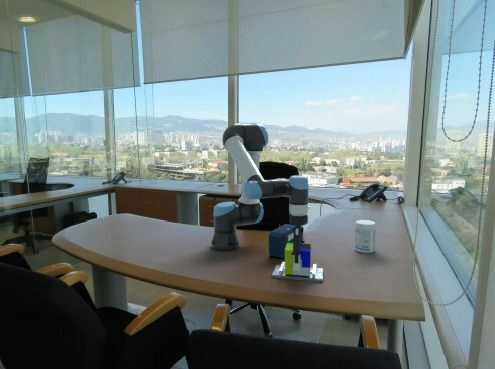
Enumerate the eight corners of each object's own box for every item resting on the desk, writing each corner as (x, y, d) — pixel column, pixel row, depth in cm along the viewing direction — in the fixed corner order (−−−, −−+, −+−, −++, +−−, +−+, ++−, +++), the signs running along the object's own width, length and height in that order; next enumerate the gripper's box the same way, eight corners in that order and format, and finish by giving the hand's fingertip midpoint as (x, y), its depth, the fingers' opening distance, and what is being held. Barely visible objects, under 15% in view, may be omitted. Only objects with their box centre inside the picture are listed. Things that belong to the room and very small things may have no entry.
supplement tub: (364, 246, 167) (365, 218, 165) (379, 251, 158) (380, 222, 156) (350, 249, 162) (351, 221, 160) (364, 254, 154) (365, 225, 152)
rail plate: (272, 277, 129) (272, 270, 129) (276, 267, 140) (276, 260, 139) (322, 282, 124) (322, 274, 124) (322, 271, 135) (323, 264, 134)
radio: (283, 260, 148) (283, 218, 146) (267, 257, 153) (267, 216, 150) (301, 247, 166) (301, 210, 163) (285, 245, 170) (285, 208, 168)
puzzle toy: (310, 276, 126) (310, 251, 125) (284, 274, 128) (284, 250, 127) (310, 266, 136) (310, 244, 134) (287, 265, 138) (287, 242, 137)
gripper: (305, 221, 116) (305, 277, 119) (309, 208, 140) (309, 254, 143) (285, 220, 118) (285, 275, 120) (292, 207, 142) (292, 253, 144)
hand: (298, 264), depth 131 cm, fingers open, 13 cm apart
